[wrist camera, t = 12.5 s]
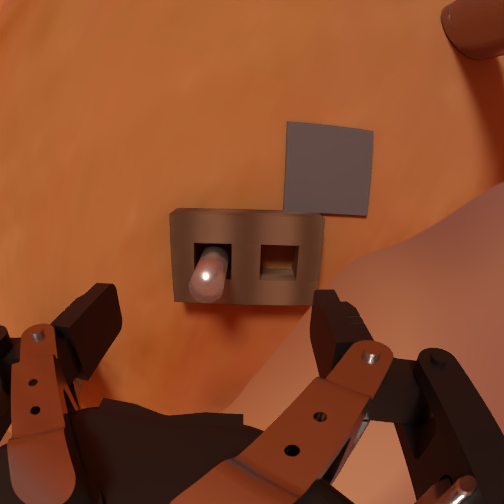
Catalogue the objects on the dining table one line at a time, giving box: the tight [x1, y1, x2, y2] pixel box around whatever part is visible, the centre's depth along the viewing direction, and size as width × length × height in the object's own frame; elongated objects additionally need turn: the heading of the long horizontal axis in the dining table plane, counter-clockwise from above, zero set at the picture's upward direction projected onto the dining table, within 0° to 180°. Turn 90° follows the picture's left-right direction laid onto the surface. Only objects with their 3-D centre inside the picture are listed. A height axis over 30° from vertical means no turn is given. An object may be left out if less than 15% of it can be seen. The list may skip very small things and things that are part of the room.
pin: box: [189, 243, 230, 303], centre depth 31 cm, size 3×3×10 cm
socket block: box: [169, 208, 325, 305], centre depth 34 cm, size 16×10×4 cm, turn 88°
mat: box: [283, 122, 373, 216], centre depth 32 cm, size 10×10×1 cm
